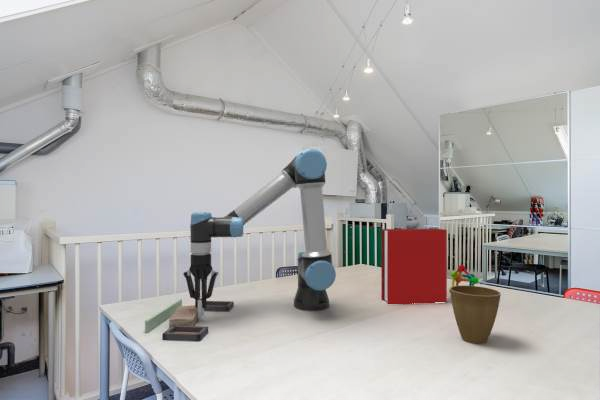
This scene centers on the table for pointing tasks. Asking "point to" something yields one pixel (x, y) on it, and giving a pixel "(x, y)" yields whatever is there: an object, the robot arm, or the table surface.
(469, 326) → the plant pot
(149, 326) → the sage end wall
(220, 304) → the trap pits
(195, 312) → the brick
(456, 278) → the educational toy
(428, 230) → the book
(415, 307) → the table surface
